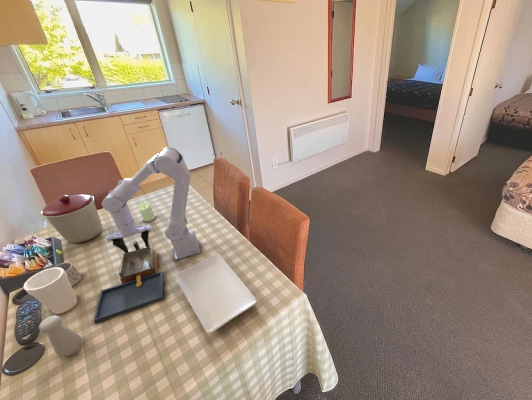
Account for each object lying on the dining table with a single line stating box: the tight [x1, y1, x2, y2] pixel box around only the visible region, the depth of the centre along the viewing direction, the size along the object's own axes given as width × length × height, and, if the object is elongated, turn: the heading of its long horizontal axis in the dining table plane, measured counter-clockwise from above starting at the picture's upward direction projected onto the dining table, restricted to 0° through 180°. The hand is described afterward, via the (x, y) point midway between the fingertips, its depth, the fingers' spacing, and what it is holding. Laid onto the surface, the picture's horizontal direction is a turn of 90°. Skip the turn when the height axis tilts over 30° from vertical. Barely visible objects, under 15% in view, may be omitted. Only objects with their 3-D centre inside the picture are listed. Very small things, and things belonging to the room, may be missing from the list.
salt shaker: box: [38, 315, 83, 357], centre depth 73 cm, size 6×6×13 cm
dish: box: [118, 240, 155, 278], centre depth 101 cm, size 10×14×5 cm
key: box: [136, 275, 142, 287], centre depth 96 cm, size 4×2×1 cm, turn 28°
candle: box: [138, 201, 156, 222], centre depth 131 cm, size 5×5×8 cm
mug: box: [54, 261, 82, 287], centre depth 96 cm, size 10×7×7 cm
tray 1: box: [93, 271, 165, 324], centre depth 92 cm, size 19×13×1 cm
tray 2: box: [174, 252, 258, 335], centre depth 92 cm, size 17×31×4 cm, turn 42°
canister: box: [39, 194, 103, 244], centre depth 117 cm, size 18×18×21 cm
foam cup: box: [23, 266, 78, 315], centre depth 86 cm, size 10×9×13 cm
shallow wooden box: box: [119, 249, 158, 284], centre depth 102 cm, size 11×12×3 cm
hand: (137, 249), depth 106 cm, fingers closed on dish, 6 cm apart
